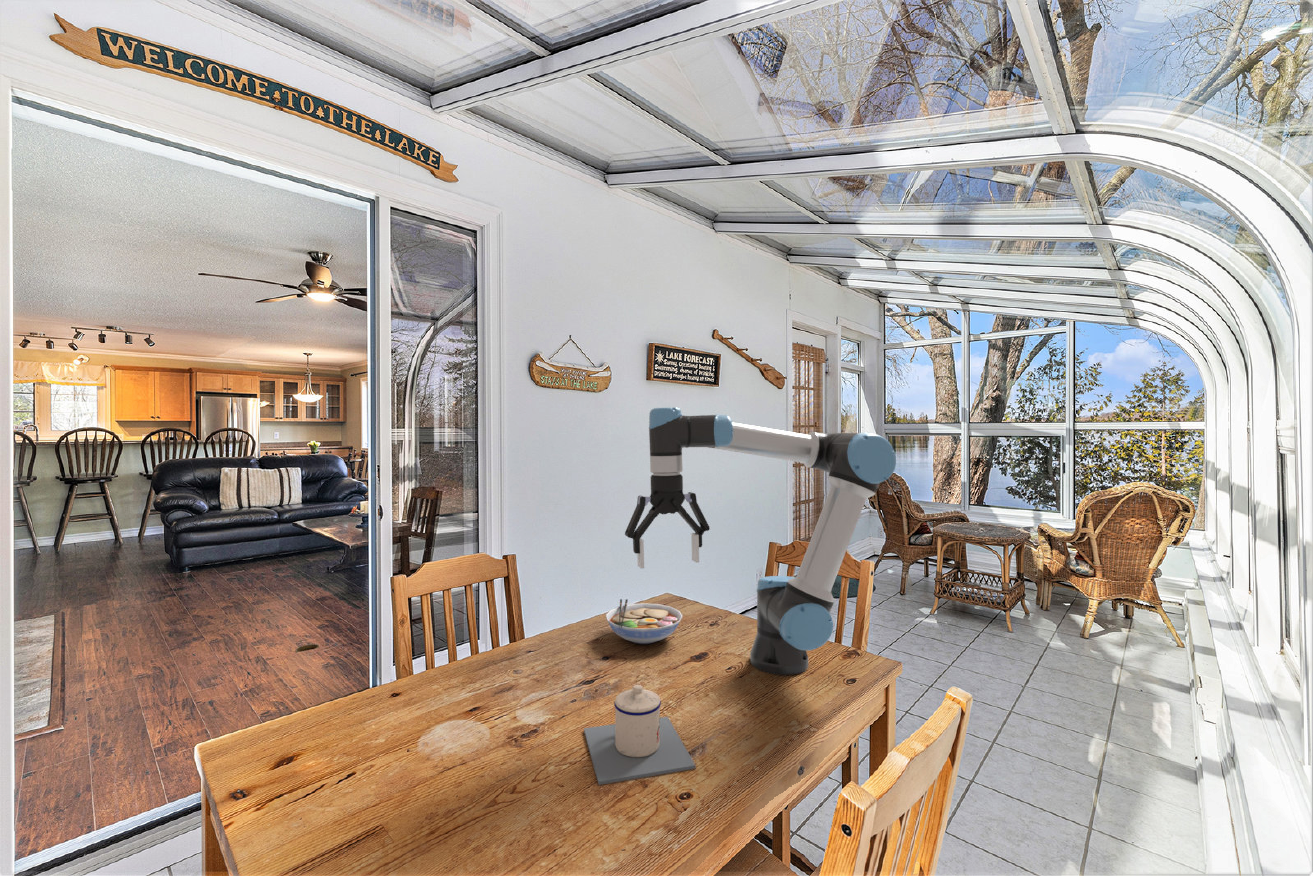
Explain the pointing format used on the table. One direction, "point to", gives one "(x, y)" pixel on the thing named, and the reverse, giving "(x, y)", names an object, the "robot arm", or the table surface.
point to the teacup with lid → (637, 722)
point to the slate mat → (623, 767)
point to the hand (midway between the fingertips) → (668, 564)
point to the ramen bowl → (643, 621)
